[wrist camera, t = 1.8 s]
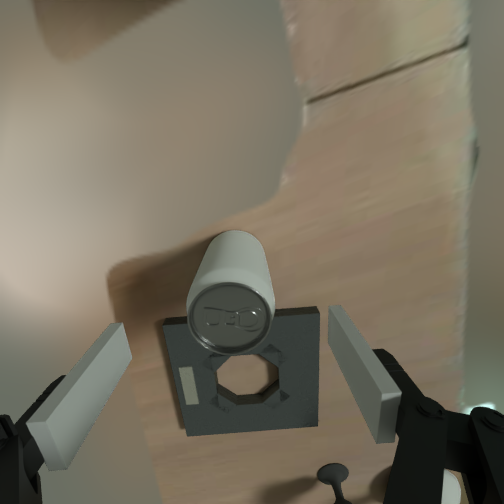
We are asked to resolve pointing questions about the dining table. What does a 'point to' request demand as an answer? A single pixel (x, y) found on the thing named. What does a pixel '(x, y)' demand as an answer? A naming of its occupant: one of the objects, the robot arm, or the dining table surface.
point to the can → (231, 295)
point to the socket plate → (253, 405)
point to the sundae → (334, 479)
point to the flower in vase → (450, 489)
